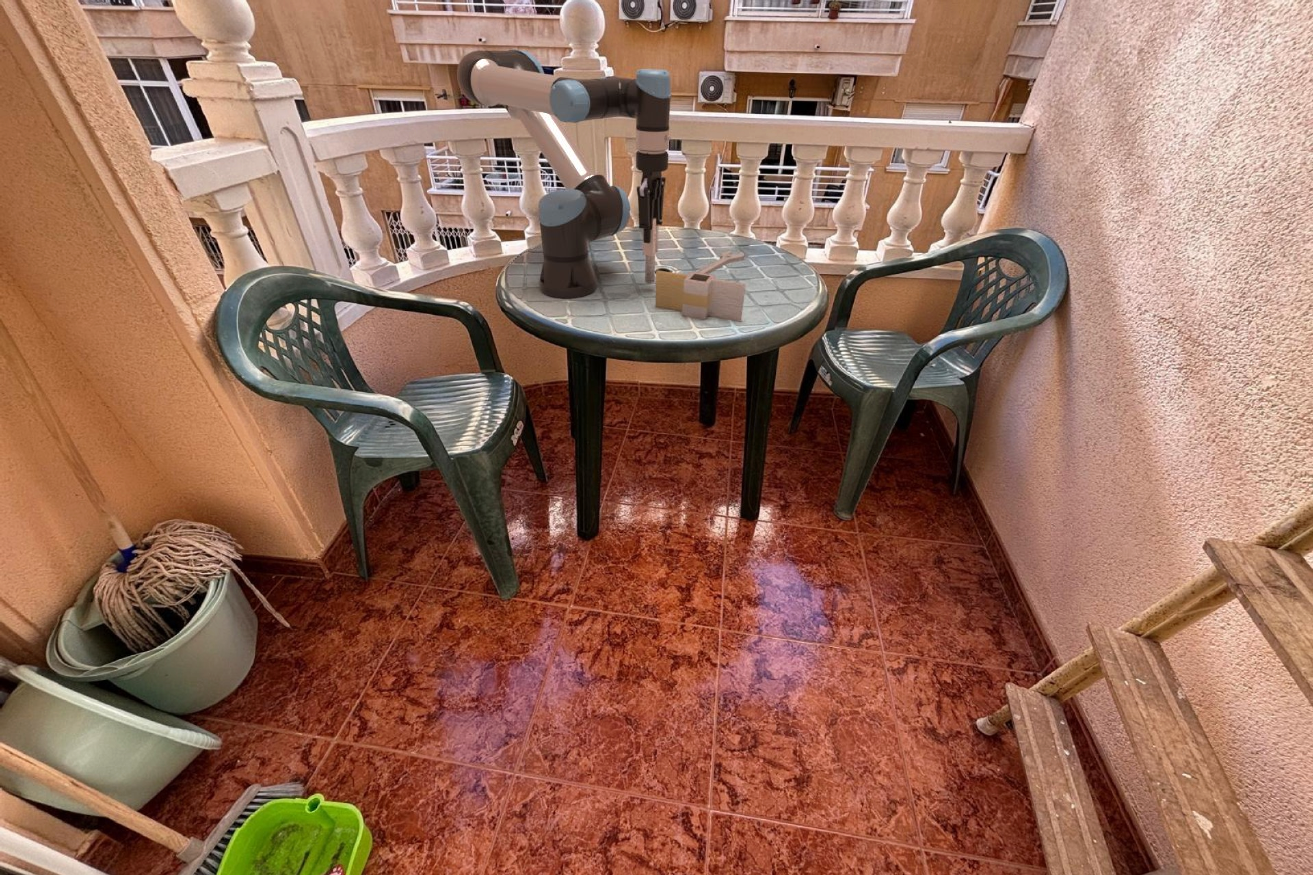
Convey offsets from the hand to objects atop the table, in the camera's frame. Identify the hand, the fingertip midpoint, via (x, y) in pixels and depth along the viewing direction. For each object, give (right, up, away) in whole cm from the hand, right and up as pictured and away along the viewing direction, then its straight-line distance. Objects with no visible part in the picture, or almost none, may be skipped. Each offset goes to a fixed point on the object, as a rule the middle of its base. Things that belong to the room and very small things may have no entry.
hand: (650, 252), depth 137 cm
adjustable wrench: (+19, +4, +23) cm, 30 cm away
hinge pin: (0, -6, +5) cm, 8 cm away
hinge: (+12, -17, -5) cm, 21 cm away
